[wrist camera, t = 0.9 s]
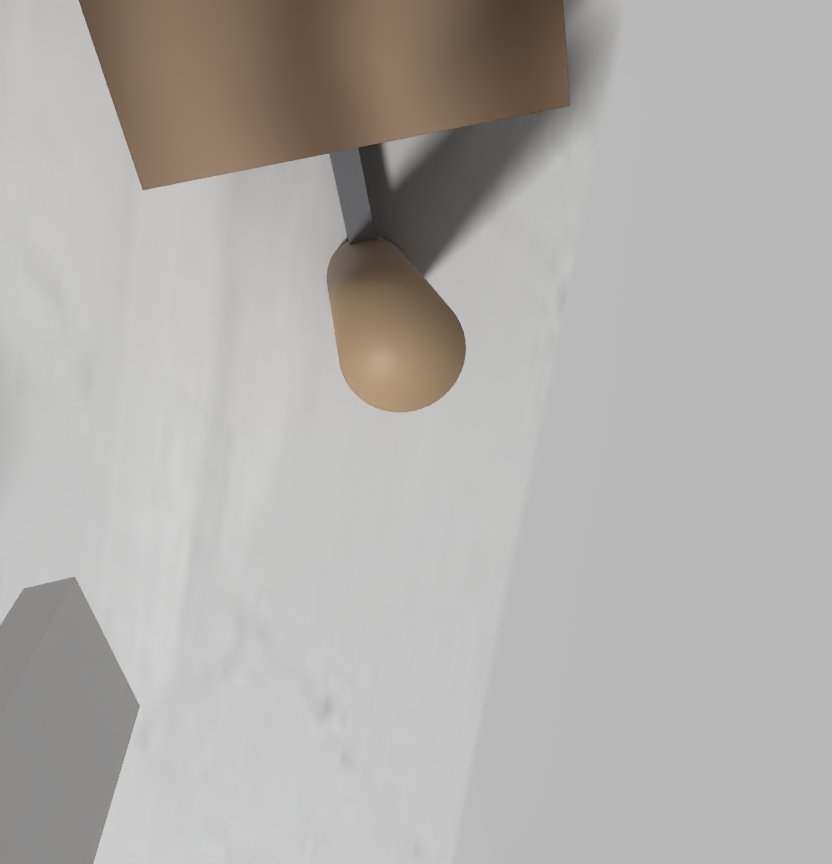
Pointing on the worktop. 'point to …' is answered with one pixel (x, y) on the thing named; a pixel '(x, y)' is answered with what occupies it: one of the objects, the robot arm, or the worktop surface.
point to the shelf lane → (315, 75)
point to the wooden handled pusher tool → (386, 311)
